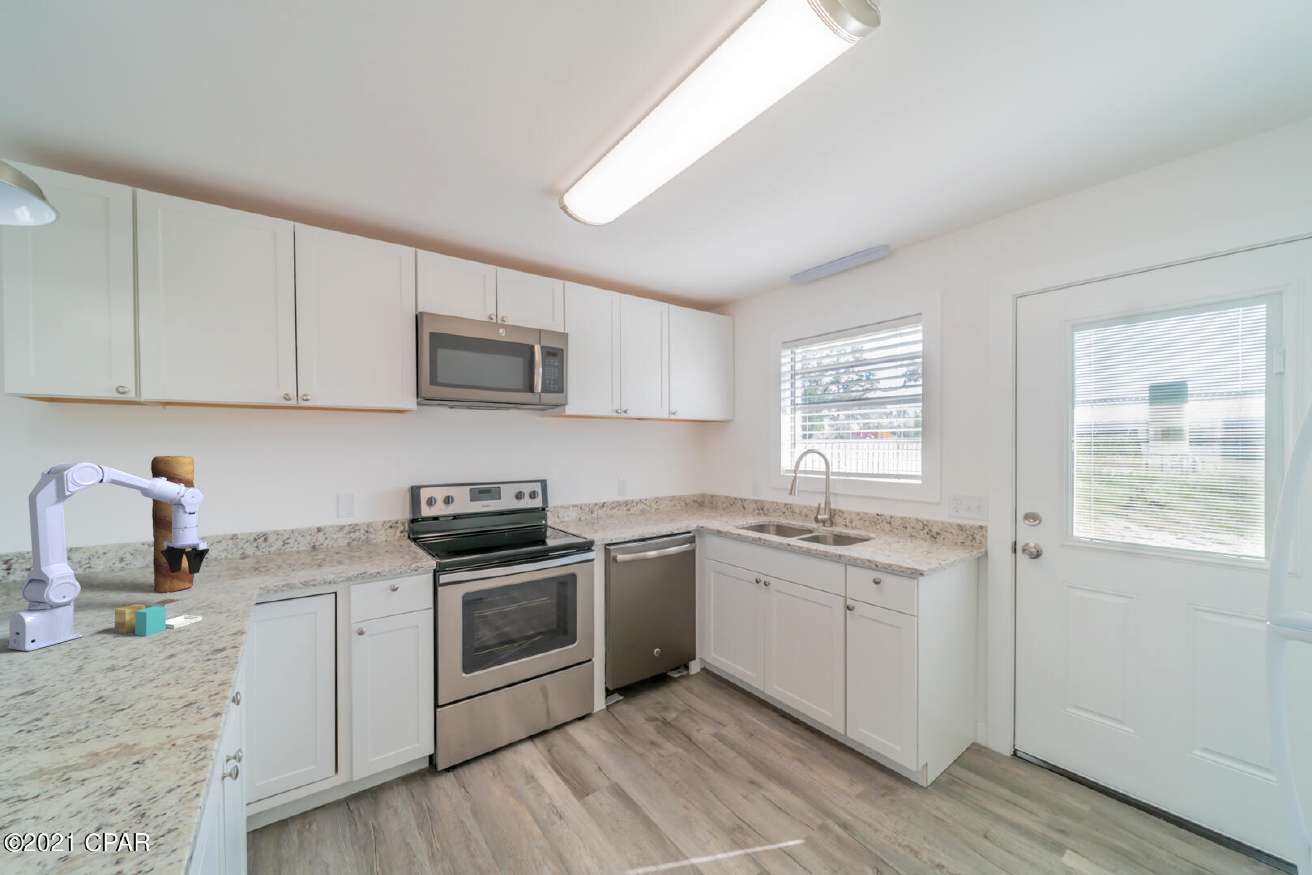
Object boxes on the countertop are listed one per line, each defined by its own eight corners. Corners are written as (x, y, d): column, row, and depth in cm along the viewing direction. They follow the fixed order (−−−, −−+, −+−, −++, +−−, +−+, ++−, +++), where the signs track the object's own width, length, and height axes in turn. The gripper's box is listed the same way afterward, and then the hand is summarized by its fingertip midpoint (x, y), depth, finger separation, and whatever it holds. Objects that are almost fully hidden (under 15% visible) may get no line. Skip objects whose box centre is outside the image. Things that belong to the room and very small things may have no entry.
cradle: (174, 628, 129) (174, 624, 129) (156, 626, 131) (156, 622, 131) (201, 620, 135) (201, 616, 135) (184, 618, 137) (184, 614, 137)
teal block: (146, 636, 124) (146, 612, 124) (135, 634, 125) (135, 611, 125) (165, 630, 128) (165, 607, 128) (154, 629, 129) (154, 606, 129)
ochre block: (125, 633, 126) (125, 610, 126) (114, 632, 127) (114, 609, 127) (145, 628, 130) (145, 605, 130) (134, 626, 131) (134, 604, 131)
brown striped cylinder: (150, 589, 166) (151, 456, 167) (193, 583, 174) (194, 455, 174) (149, 595, 159) (150, 456, 160) (194, 588, 166) (195, 455, 167)
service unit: (163, 623, 133) (163, 604, 133) (150, 621, 134) (150, 603, 134) (183, 617, 137) (183, 599, 138) (170, 616, 139) (170, 598, 139)
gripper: (218, 525, 150) (217, 570, 150) (183, 524, 154) (182, 568, 154) (191, 529, 144) (190, 576, 143) (155, 528, 147) (155, 573, 147)
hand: (184, 572), depth 148 cm, fingers open, 7 cm apart
